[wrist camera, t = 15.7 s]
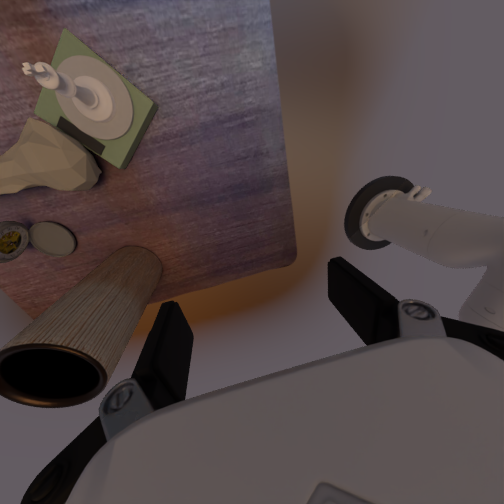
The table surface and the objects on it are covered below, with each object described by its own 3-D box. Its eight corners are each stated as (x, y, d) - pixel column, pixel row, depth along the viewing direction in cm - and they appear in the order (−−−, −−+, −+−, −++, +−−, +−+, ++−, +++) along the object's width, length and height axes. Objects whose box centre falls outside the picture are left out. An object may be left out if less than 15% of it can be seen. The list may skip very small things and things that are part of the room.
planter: (126, 293, 41) (37, 419, 21) (98, 254, 36) (-51, 367, 16) (171, 279, 41) (125, 390, 21) (148, 239, 37) (63, 331, 17)
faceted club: (120, 190, 32) (-27, 224, 31) (101, 136, 30) (-54, 171, 30) (75, 180, 23) (-129, 227, 23) (45, 103, 21) (-176, 152, 21)
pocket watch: (85, 249, 36) (41, 278, 27) (40, 261, 35) (-20, 294, 26) (56, 207, 32) (-7, 225, 23) (6, 220, 32) (-78, 242, 23)
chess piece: (64, 80, 24) (-29, 30, 15) (103, 73, 24) (36, 20, 15) (87, 126, 26) (18, 107, 17) (123, 119, 26) (74, 96, 17)
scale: (77, 38, 24) (60, 23, 22) (158, 106, 29) (152, 101, 26) (48, 116, 27) (29, 111, 24) (126, 168, 31) (117, 169, 29)
